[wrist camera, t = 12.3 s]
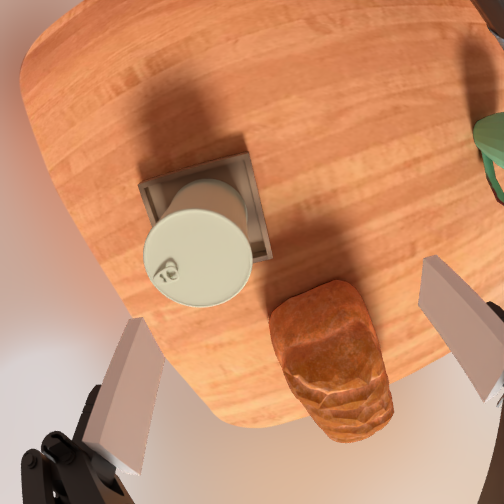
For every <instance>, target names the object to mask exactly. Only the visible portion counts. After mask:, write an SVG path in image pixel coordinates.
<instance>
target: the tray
mask: <svg viewBox="0 0 504 504" xmlns="http://www.w3.org/2000/svg"><path fill="white" fill-rule="evenodd" d="M199 179H216V180H220V181H222V182H225V183H227V184H229V185H230V186H232V187H233V188H234V189H235V190H236V191H237V192H238V193H239V194H240V195H241V197H242V199H243V200H244V202H245V205H246V209H247V229H248V237H249V244H250V247H251V250H252V258H253V262H252V263H256V262H260V261H264V260H269V259H273V255H272V250H271V246H270V242H269V237H268V233H267V228H266V224H265V220H264V215H263V211H262V207H261V202H260V198H259V194H258V189H257V185H256V181H255V177H254V172H253V168H252V164H251V160H250V156H249V152H248V151H247V152H243V153H238V154H234V155H230V156H226V157H222V158H219V159H215V160H211V161H207V162H204V163H200V164H196V165H193V166H189V167H186V168H182V169H179V170H176V171H172V172H169V173H166V174H163V175H159V176H156V177H153V178H150V179H147V180H144V181H142V182H141V183H139V184H138V187H139V190H140V193H141V196H142V199H143V202H144V205H145V208H146V211H147V214H148V217H149V220H150V222H151V225H152V227H153V226H154V225H155V224H156V223H157V222H158V221H159V220H160V218H161V217H162V216H163V214H164V213H165V211H166V210H167V209H168V207H169V206H170V205H171V202H172V200H173V198H174V197H175V195H176V194H177V192H178V191H179V190H180V189H181V188H182V187H184V186H185V185H187V184H188V183H190V182H193V181H195V180H199Z"/></svg>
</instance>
